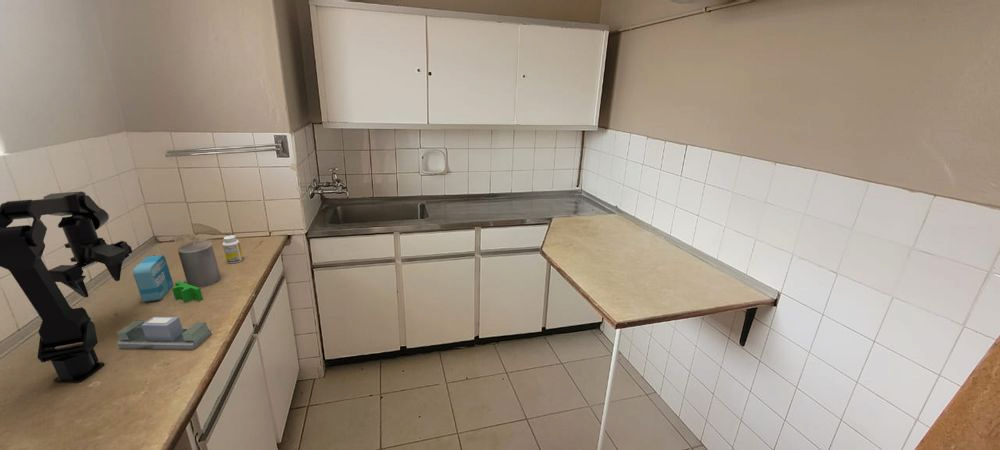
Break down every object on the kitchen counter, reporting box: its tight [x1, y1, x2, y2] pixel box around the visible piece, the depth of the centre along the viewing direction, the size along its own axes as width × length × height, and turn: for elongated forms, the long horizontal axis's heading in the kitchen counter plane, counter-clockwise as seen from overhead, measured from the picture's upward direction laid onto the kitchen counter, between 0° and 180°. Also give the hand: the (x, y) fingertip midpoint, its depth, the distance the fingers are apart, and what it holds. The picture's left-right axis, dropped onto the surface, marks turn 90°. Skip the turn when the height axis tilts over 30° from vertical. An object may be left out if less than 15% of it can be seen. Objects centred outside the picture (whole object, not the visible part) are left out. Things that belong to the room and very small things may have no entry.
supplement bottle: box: [222, 234, 244, 264], centre depth 156 cm, size 6×6×10 cm
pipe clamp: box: [171, 281, 204, 304], centre depth 130 cm, size 11×4×5 cm, turn 67°
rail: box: [116, 320, 213, 351], centre depth 109 cm, size 7×20×4 cm, turn 89°
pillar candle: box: [177, 240, 221, 289], centre depth 139 cm, size 10×10×15 cm
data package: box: [132, 254, 174, 303], centre depth 131 cm, size 12×4×12 cm, turn 21°
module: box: [141, 316, 184, 341], centre depth 108 cm, size 4×7×5 cm, turn 89°
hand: (102, 288), depth 112 cm, fingers open, 9 cm apart
